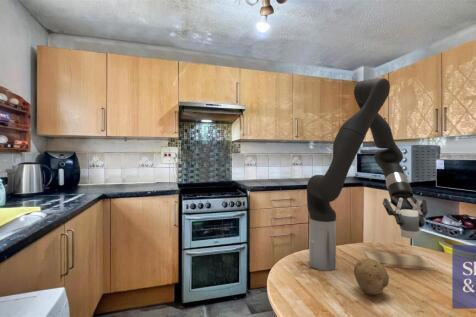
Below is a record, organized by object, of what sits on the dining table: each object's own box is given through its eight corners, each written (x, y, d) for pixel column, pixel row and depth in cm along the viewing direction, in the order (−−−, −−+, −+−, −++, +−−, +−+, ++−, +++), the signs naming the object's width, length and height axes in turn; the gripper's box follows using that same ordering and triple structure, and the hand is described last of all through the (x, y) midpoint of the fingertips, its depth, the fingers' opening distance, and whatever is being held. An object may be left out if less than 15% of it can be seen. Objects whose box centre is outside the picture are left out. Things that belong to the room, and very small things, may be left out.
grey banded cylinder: (403, 238, 84) (403, 212, 84) (397, 233, 90) (397, 208, 90) (422, 239, 83) (422, 212, 83) (415, 234, 88) (415, 209, 88)
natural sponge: (368, 282, 78) (368, 251, 78) (396, 297, 70) (396, 262, 70) (347, 288, 74) (347, 256, 74) (373, 305, 66) (373, 268, 66)
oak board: (372, 264, 91) (372, 262, 91) (364, 253, 102) (364, 251, 102) (434, 270, 86) (434, 267, 86) (419, 258, 97) (419, 255, 97)
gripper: (379, 180, 95) (390, 218, 84) (422, 181, 92) (440, 221, 80) (376, 192, 100) (385, 229, 89) (416, 193, 97) (432, 232, 85)
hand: (411, 225), depth 85 cm, fingers closed on grey banded cylinder, 5 cm apart
